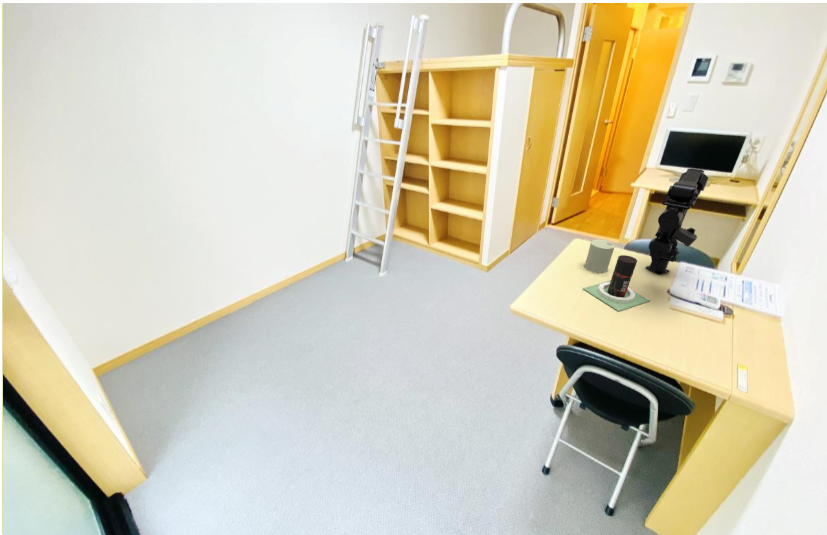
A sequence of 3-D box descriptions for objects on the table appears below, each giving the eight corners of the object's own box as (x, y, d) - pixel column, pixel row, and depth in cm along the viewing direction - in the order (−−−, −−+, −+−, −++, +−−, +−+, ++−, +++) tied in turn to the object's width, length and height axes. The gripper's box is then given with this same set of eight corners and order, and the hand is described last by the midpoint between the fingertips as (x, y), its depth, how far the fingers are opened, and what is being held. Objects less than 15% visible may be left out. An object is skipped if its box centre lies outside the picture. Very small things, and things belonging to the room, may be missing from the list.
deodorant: (617, 299, 127) (629, 264, 119) (603, 291, 131) (614, 257, 124) (628, 296, 129) (641, 260, 121) (614, 288, 133) (625, 254, 126)
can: (611, 273, 144) (619, 247, 139) (589, 273, 145) (596, 247, 139) (601, 262, 152) (609, 238, 147) (580, 262, 153) (587, 238, 147)
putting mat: (612, 280, 139) (613, 276, 138) (649, 301, 126) (651, 296, 125) (582, 289, 134) (583, 284, 133) (618, 311, 121) (619, 307, 120)
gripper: (696, 234, 109) (678, 276, 117) (703, 218, 121) (686, 257, 129) (655, 225, 116) (641, 266, 123) (666, 211, 128) (652, 248, 135)
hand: (656, 259), depth 127 cm, fingers open, 9 cm apart
